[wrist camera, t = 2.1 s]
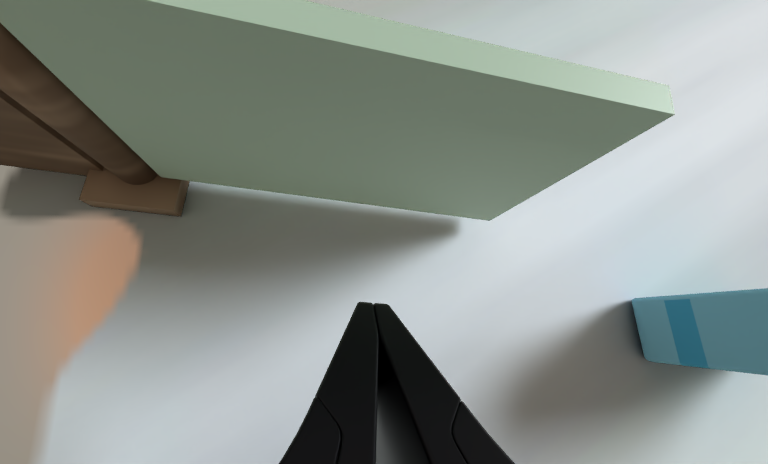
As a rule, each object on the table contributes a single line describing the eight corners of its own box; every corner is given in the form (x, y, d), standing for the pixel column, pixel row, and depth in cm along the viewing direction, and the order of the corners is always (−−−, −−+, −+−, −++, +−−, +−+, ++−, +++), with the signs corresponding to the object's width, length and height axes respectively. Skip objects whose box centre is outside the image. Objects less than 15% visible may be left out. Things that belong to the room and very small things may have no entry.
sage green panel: (489, 220, 24) (674, 114, 12) (161, 177, 20) (-73, -48, 8) (488, 182, 25) (661, 45, 13) (172, 133, 21) (-23, -132, 9)
